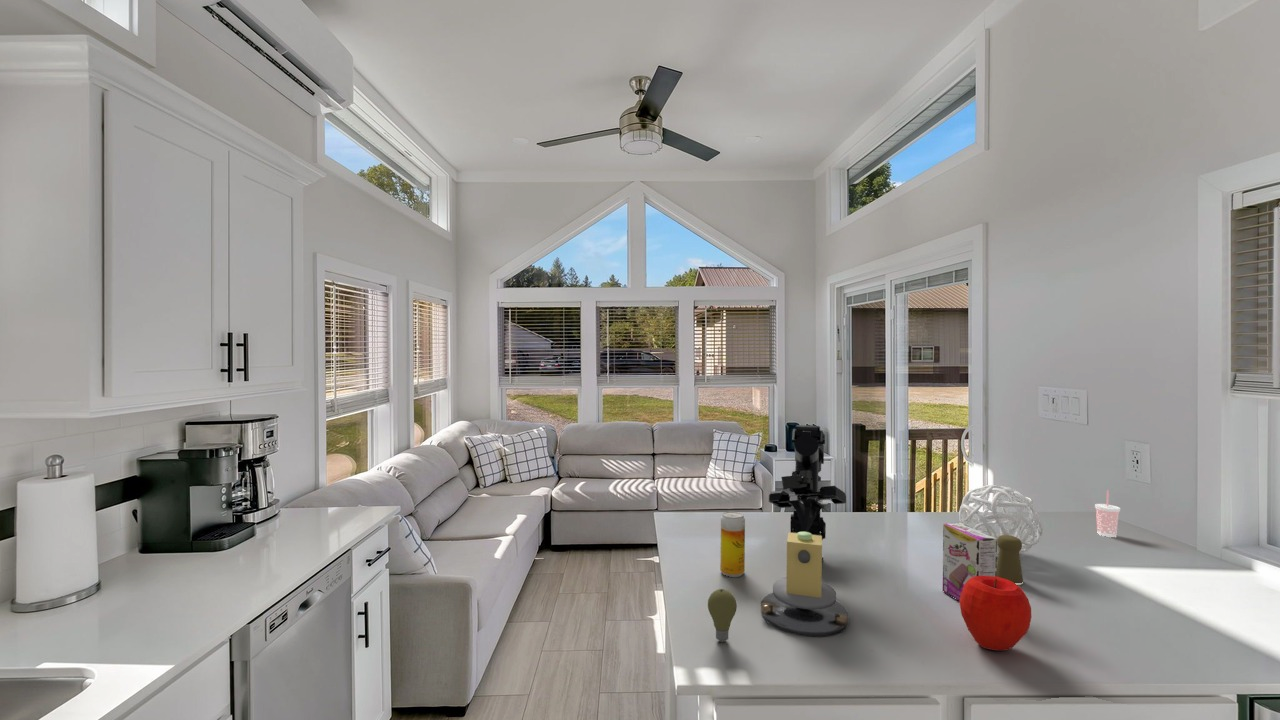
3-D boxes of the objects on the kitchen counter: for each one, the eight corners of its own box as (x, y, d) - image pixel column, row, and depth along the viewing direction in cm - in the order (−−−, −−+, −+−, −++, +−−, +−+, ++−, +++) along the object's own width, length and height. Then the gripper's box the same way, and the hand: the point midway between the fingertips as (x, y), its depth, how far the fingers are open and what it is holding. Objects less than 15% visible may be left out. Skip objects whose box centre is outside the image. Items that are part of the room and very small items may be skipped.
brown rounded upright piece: (1020, 578, 140) (1021, 534, 140) (1025, 587, 135) (1026, 542, 134) (992, 573, 143) (993, 531, 142) (996, 582, 137) (997, 538, 137)
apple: (1003, 670, 99) (1004, 596, 99) (944, 639, 110) (945, 571, 110) (1044, 656, 104) (1046, 585, 104) (984, 627, 115) (985, 562, 115)
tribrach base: (765, 590, 132) (765, 576, 131) (846, 601, 126) (846, 586, 126) (756, 628, 114) (756, 611, 114) (850, 643, 108) (851, 625, 108)
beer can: (744, 579, 138) (744, 518, 138) (719, 577, 139) (720, 517, 139) (744, 569, 144) (745, 511, 144) (720, 567, 145) (721, 510, 145)
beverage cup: (1089, 531, 177) (1090, 487, 177) (1110, 532, 176) (1111, 488, 176) (1102, 537, 171) (1103, 492, 171) (1124, 538, 170) (1125, 493, 170)
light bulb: (704, 634, 111) (705, 584, 111) (732, 633, 112) (732, 583, 112) (710, 649, 106) (711, 597, 105) (739, 648, 106) (740, 596, 106)
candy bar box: (940, 592, 132) (941, 522, 131) (959, 590, 132) (960, 522, 132) (976, 614, 121) (978, 538, 120) (997, 612, 121) (998, 537, 121)
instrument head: (775, 578, 128) (775, 521, 127) (835, 586, 124) (836, 527, 123) (770, 604, 115) (771, 541, 115) (837, 613, 111) (837, 548, 111)
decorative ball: (1053, 573, 143) (1055, 499, 143) (965, 563, 149) (967, 492, 149) (1027, 547, 162) (1028, 482, 162) (950, 539, 168) (951, 476, 168)
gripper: (758, 463, 146) (754, 523, 138) (824, 455, 134) (823, 520, 126) (781, 478, 152) (779, 536, 145) (846, 470, 140) (847, 533, 132)
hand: (805, 531), depth 137 cm, fingers closed
